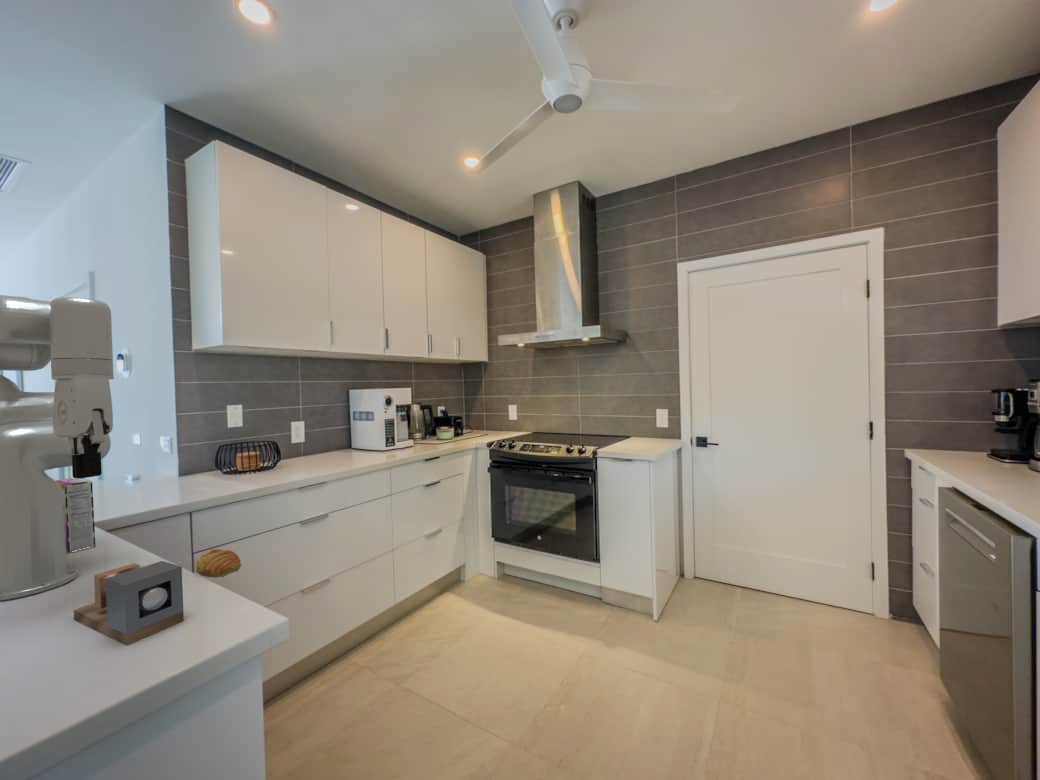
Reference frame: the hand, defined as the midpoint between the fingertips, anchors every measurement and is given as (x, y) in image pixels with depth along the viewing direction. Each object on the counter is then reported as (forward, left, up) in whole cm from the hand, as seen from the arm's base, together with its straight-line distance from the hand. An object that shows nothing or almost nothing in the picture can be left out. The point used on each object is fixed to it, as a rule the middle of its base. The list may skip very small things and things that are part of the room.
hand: (87, 476), depth 74 cm
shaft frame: (+14, 0, -22) cm, 26 cm away
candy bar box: (-46, +12, -22) cm, 52 cm away
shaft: (+16, 0, -20) cm, 25 cm away
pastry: (+6, +18, -23) cm, 29 cm away
